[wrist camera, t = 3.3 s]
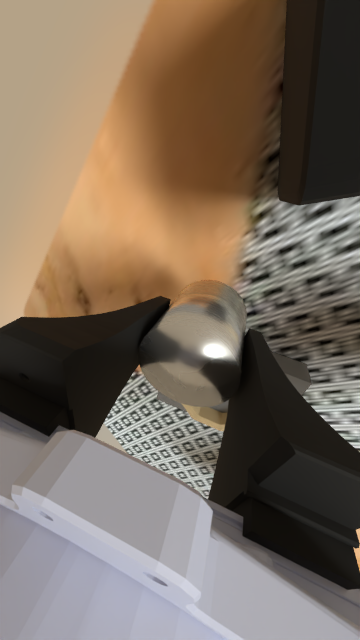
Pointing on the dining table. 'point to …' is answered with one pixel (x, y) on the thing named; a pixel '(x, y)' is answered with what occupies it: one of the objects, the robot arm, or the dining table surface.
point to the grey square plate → (218, 413)
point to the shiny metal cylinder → (197, 345)
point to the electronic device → (320, 102)
